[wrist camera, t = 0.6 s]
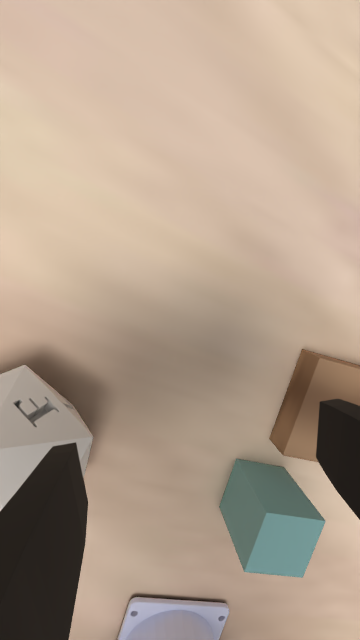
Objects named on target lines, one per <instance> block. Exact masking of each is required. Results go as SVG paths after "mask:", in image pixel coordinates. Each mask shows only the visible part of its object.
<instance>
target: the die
mask: <svg viewBox="0 0 360 640" xmlns="http://www.w3.org/2000/svg"><path fill="white" fill-rule="evenodd" d="M92 441H93V435H92V434H91V432H90V431H89V429H88V427H87V426H86V424H85V423H84V421H83V420H82V418H81V417H80V415H79V413H78V412H77V410H76V409H75V407H74V406H73V405H72V404H71V403H70V402H69V401H68V400H66V399H65V398H64V397H63V396H62V395H60V394H59V393H58V392H57V391H56V390H55V389H53V388H52V387H51V386H50V385H49V384H47V383H46V382H45V381H44V380H43V379H42V378H40V377H39V376H38V375H37V374H36V373H34V372H33V371H32V370H31V369H30V368H29V367H27V366H26V365H23V366H20V367H18V368H15V369H12V370H10V371H7V372H5V373H2V374H0V511H1V510H2V509H3V507H4V506H5V505H6V504H7V502H8V501H9V500H10V499H11V498H12V496H13V495H14V494H15V493H16V492H17V490H18V489H19V488H20V487H21V485H22V484H23V483H24V482H25V480H26V479H27V478H28V477H29V475H30V474H31V473H32V471H33V470H34V469H35V468H36V466H37V465H38V464H39V463H40V461H41V460H42V459H43V458H44V456H45V455H46V454H47V453H48V451H49V450H50V449H51V448H52V447H53V446H57V445H63V444H69V443H75V442H76V444H77V449H78V454H79V459H80V465H81V470H82V475H83V479H84V475H85V471H86V466H87V462H88V458H89V453H90V449H91V445H92Z"/></svg>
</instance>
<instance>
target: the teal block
mask: <svg viewBox="0 0 360 640" xmlns="http://www.w3.org/2000/svg"><path fill="white" fill-rule="evenodd" d="M219 507H220V510H221V512H222V515H223V518H224V520H225V523H226V525H227V528H228V531H229V533H230V536H231V538H232V541H233V544H234V546H235V549H236V552H237V554H238V557H239V559H240V562H241V565H242V567H243V570H244V572H250V573H260V574H271V575H281V576H292V577H302V578H303V576H304V573H305V571H306V568H307V566H308V563H309V561H310V558H311V556H312V553H313V551H314V548H315V546H316V543H317V541H318V539H319V536H320V534H321V531H322V529H323V526H324V524H325V520H324V518H323V517H322V516H321V514H320V513H319V512H318V511H317V509H316V508H315V507H314V505H313V504H312V503H311V502H310V500H309V499H308V498H307V496H306V495H305V494H304V493H303V491H302V490H301V489H300V487H299V486H298V485H297V483H296V482H295V481H294V480H293V478H292V477H291V476H290V474H289V473H288V472H287V471H286V469H285V468H284V467H280V466H274V465H269V464H263V463H258V462H252V461H246V460H241V459H236V461H235V464H234V466H233V469H232V472H231V475H230V478H229V481H228V483H227V486H226V489H225V492H224V495H223V498H222V500H221V503H220V506H219Z"/></svg>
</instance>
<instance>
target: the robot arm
mask: <svg viewBox="0 0 360 640" xmlns="http://www.w3.org/2000/svg"><path fill="white" fill-rule="evenodd" d="M316 458H317V460H318V462H319V463H320V465H321V467H322V468H323V470H324V472H325V473H326V475H327V477H328V478H329V480H330V481H331V483H332V484H333V486H334V487H335V489H336V490H337V492H338V493H339V494H340V495H341V497H342V498H343V499H344V500H345V502H346V503H347V504H348V506H349V507H350V508H351V509H352V511H353V512H354V513H355V514H356V516H357V517H358V518H359V519H360V406H358V405H356V404H353V403H350V402H347V401H344V400H341V399H332V400H326V401H320V405H319V419H318V434H317V448H316ZM87 509H88V500H87V495H86V490H85V485H84V480H83V475H82V470H81V465H80V459H79V454H78V449H77V444H76V442H75V443H69V444H63V445H57V446H53V447H52V448H51V449H50V450H49V451H48V453H47V454H46V455H45V456H44V458H43V459H42V460H41V461H40V463H39V464H38V465H37V466H36V468H35V469H34V470H33V471H32V473H31V474H30V475H29V477H28V478H27V479H26V480H25V482H24V483H23V484H22V485H21V487H20V488H19V489H18V490H17V492H16V493H15V494H14V495H13V496H12V498H11V499H10V500H9V501H8V502H7V504H6V505H5V506H4V507H3V509H2V510H1V511H0V640H68V639H69V633H70V628H71V622H72V616H73V611H74V605H75V599H76V594H77V588H78V582H79V576H80V571H81V565H82V559H83V553H84V547H85V538H86V525H87ZM228 614H229V608H228V605H227V604H226V603H218V602H203V601H188V600H173V599H158V598H144V597H135V598H133V599H131V600H130V602H129V605H128V608H127V611H126V614H125V617H124V620H123V623H122V626H121V629H120V633H119V636H118V639H117V640H219V638H220V636H221V633H222V630H223V628H224V625H225V622H226V620H227V617H228Z"/></svg>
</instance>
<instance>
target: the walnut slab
mask: <svg viewBox="0 0 360 640" xmlns="http://www.w3.org/2000/svg"><path fill="white" fill-rule="evenodd" d="M332 399H341V400H344V401H347V402H350V403H353V404H356V405H358V406H360V366H359V365H356V364H352V363H349V362H345V361H342V360H338V359H335V358H331V357H328V356H324V355H321V354H317V353H314V352H310V351H306V350H303V349H302V351H301V354H300V357H299V359H298V362H297V365H296V367H295V370H294V373H293V376H292V378H291V381H290V384H289V387H288V389H287V392H286V395H285V397H284V400H283V403H282V406H281V408H280V411H279V414H278V417H277V419H276V422H275V425H274V428H273V430H272V433H271V436H270V438H269V439H270V440H271V441H272V442H273V444H274V445H275V446H276V447H277V449H278V450H279V451H280V452H281V454H282V455H284V456H289V457H294V458H300V459H305V460H310V461H315V462H318V460H317V458H316V448H317V434H318V419H319V405H320V401H326V400H332Z"/></svg>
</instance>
